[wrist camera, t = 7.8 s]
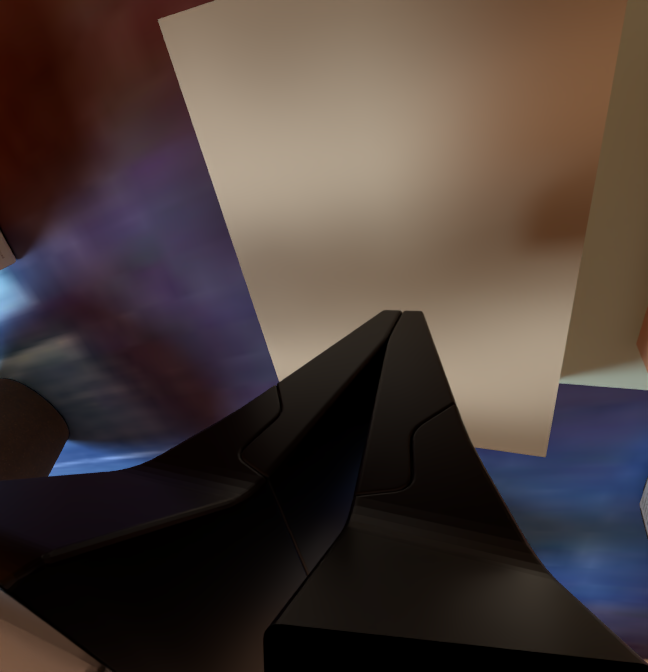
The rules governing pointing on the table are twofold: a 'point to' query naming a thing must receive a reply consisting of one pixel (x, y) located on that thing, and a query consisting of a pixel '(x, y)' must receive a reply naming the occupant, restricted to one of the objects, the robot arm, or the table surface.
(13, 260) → the small box
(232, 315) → the table surface
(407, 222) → the deck
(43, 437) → the plant pot
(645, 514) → the candy bar box
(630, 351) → the mat
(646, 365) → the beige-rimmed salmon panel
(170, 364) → the table surface
